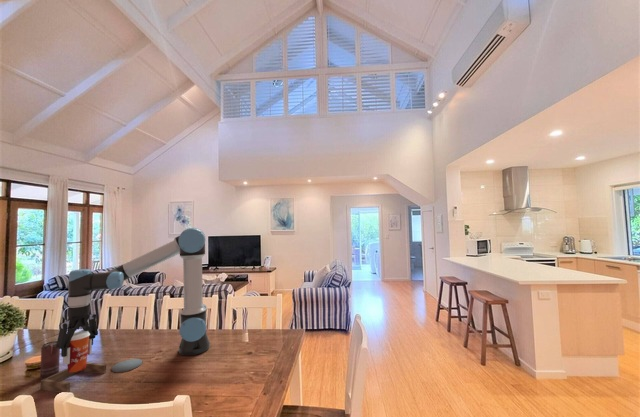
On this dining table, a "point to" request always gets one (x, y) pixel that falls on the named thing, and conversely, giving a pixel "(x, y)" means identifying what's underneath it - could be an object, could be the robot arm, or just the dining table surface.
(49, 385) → the u-shaped wooden bracket
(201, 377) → the dining table surface
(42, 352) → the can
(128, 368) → the coaster
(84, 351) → the coffee cup
